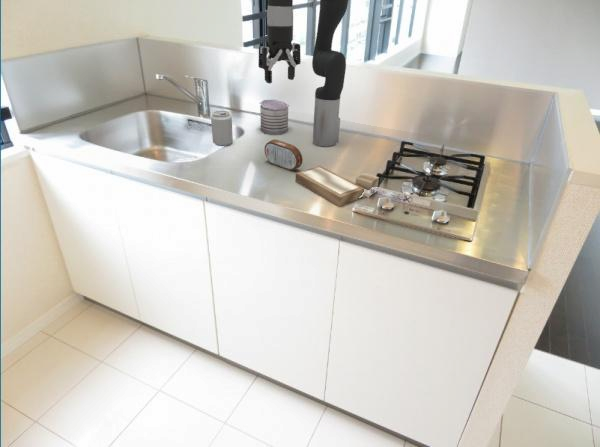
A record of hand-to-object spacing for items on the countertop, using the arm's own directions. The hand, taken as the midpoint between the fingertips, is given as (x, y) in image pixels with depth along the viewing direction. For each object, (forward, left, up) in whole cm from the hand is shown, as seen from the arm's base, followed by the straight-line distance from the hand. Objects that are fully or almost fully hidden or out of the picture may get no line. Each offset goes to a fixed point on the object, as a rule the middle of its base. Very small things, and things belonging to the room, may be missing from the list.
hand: (279, 81), depth 129 cm
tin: (0, +2, -28) cm, 28 cm away
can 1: (+6, -28, -28) cm, 40 cm away
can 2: (-18, -28, -28) cm, 43 cm away
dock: (-1, +24, -28) cm, 37 cm away
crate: (-9, +32, -28) cm, 44 cm away
